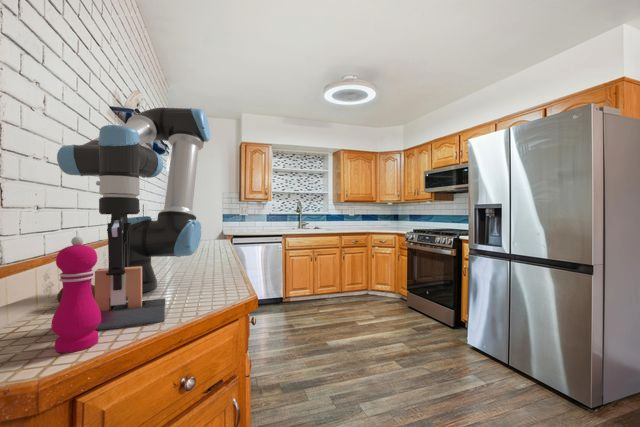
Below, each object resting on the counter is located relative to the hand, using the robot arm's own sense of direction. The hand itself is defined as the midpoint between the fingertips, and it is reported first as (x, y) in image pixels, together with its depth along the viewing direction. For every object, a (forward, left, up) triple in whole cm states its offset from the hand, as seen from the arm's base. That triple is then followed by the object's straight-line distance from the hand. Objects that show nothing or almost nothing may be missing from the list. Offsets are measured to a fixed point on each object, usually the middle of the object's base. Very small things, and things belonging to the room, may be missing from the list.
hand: (119, 302), depth 69 cm
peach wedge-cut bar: (0, 0, -3) cm, 3 cm away
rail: (0, 0, -5) cm, 5 cm away
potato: (-19, -12, -5) cm, 23 cm away
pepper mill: (+11, -5, -5) cm, 13 cm away
